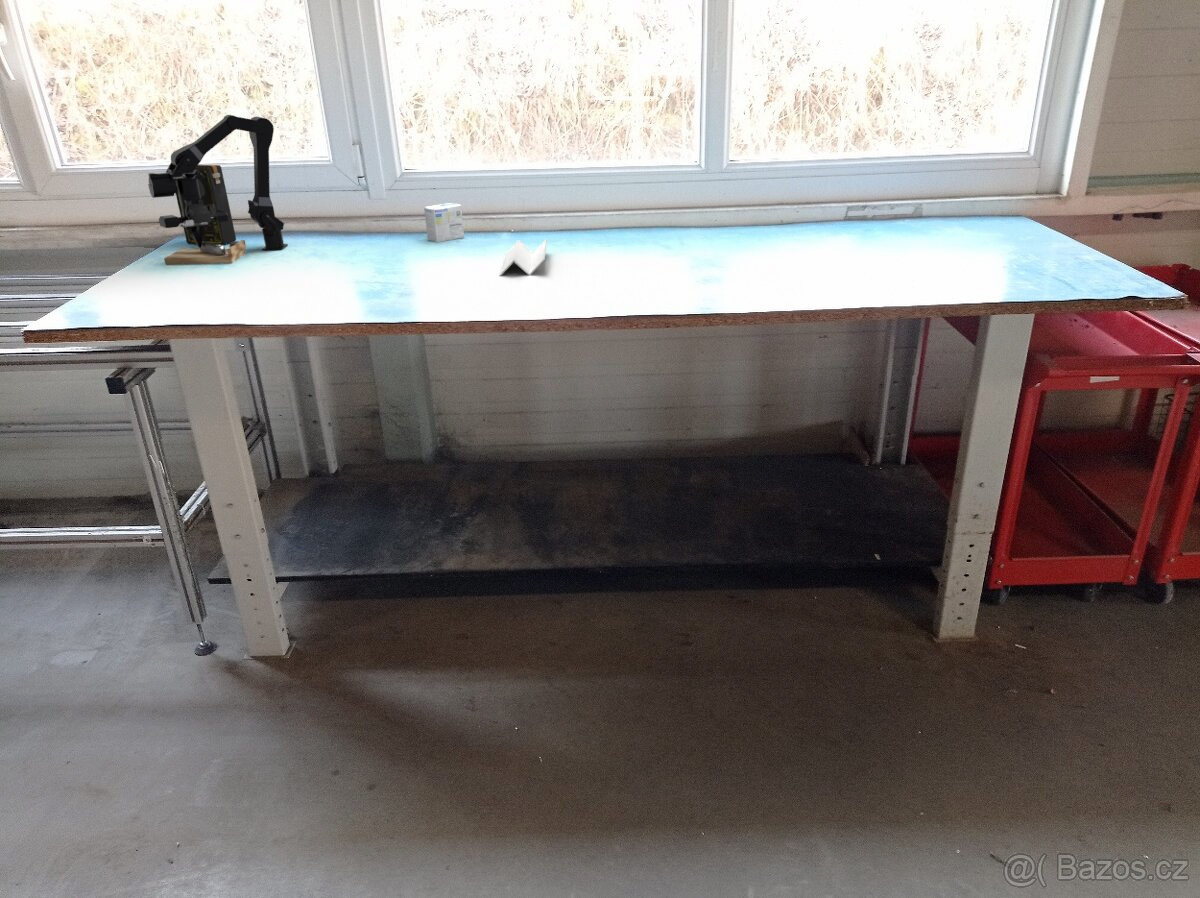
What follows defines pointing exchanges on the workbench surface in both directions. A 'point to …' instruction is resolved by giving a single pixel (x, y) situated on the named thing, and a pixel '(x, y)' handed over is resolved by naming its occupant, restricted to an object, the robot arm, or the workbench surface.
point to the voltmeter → (211, 194)
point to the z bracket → (524, 257)
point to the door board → (207, 255)
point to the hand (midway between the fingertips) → (199, 247)
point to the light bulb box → (444, 222)
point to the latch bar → (213, 248)
